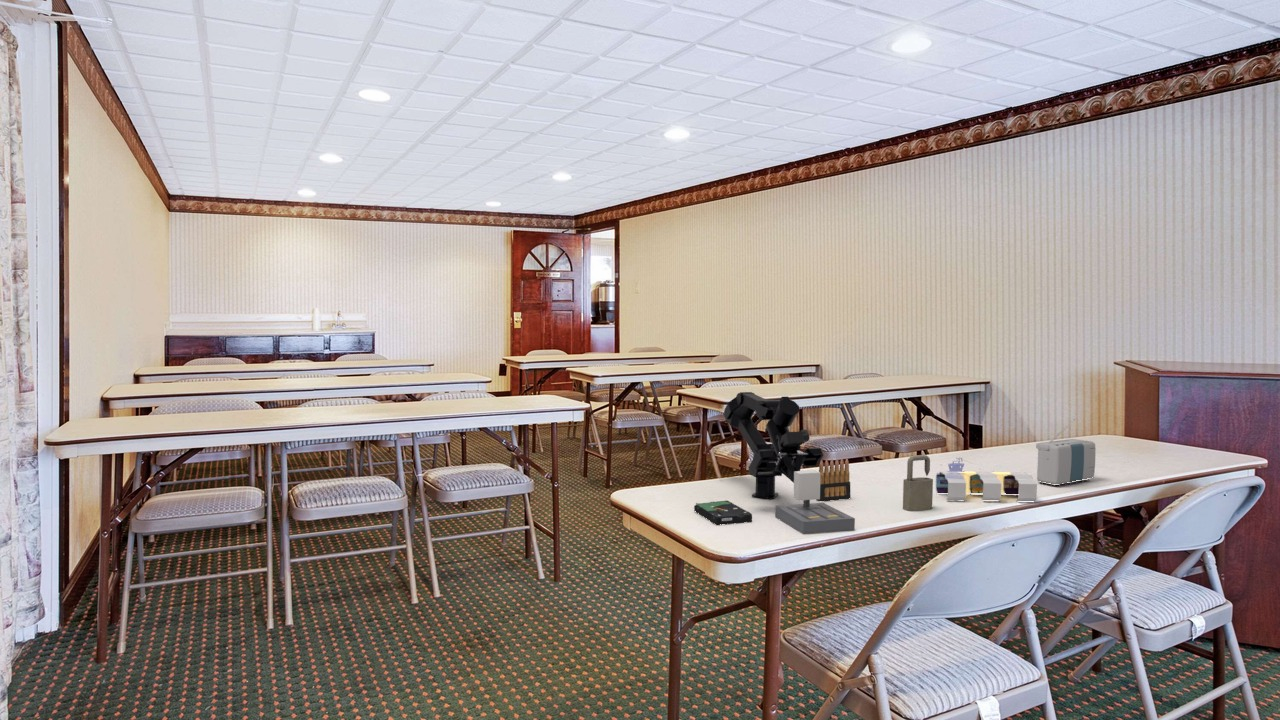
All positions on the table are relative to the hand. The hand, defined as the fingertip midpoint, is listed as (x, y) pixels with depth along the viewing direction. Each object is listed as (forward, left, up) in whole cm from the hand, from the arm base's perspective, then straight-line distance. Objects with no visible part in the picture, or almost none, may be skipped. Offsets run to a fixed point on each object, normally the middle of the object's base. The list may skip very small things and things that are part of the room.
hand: (798, 484), depth 199 cm
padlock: (-21, +28, -8) cm, 36 cm away
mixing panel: (+7, +6, -8) cm, 12 cm away
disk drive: (+11, -17, -9) cm, 22 cm away
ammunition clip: (-21, +5, -8) cm, 23 cm away
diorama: (-43, +45, -9) cm, 63 cm away
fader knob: (+4, +3, -5) cm, 7 cm away
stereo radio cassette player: (-79, +69, -8) cm, 105 cm away
